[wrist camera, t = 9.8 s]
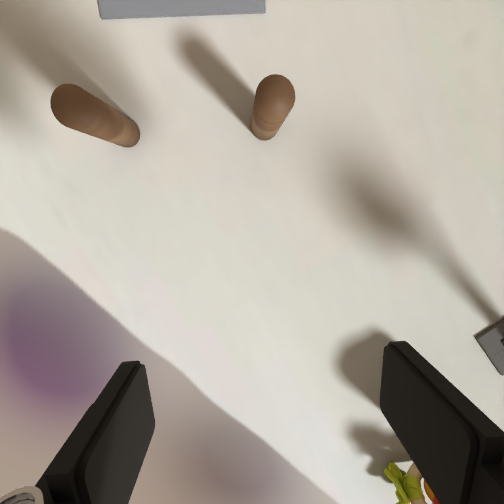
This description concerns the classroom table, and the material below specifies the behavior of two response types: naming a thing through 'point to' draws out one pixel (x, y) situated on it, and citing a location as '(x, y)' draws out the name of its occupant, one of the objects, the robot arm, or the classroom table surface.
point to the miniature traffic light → (494, 345)
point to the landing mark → (176, 8)
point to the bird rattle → (409, 485)
